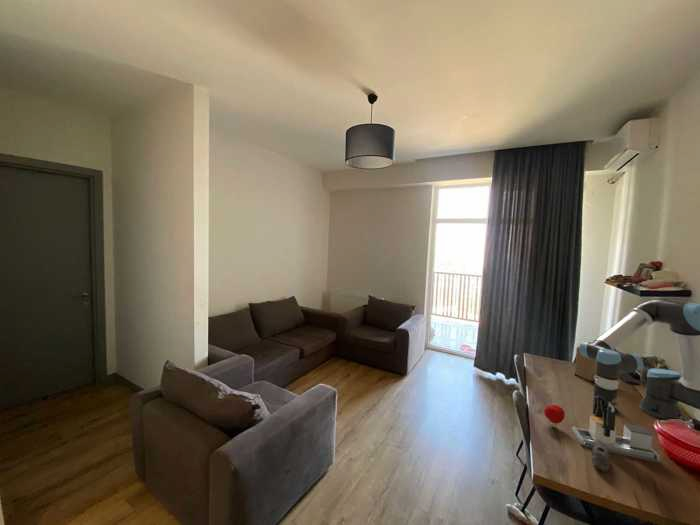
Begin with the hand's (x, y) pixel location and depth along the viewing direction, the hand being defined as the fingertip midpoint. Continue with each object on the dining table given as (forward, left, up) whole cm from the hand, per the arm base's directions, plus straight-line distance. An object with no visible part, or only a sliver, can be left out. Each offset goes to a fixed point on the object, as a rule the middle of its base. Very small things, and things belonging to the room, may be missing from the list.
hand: (601, 437), depth 124 cm
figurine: (-17, -38, -3) cm, 42 cm away
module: (0, 0, 0) cm, 0 cm away
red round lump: (+16, -6, -3) cm, 17 cm away
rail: (-4, 0, -3) cm, 5 cm away
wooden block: (-24, -79, -3) cm, 83 cm away
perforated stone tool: (+6, +14, -3) cm, 15 cm away
